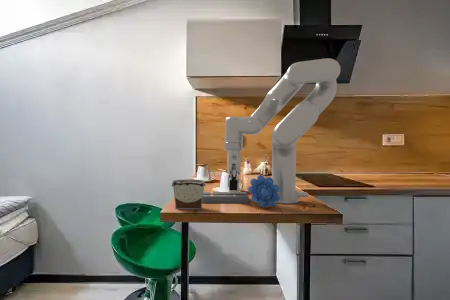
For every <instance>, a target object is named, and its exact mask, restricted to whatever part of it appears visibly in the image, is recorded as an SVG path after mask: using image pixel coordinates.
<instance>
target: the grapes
mask: <svg viewBox="0 0 450 300" xmlns="http://www.w3.org/2000/svg"><path fill="white" fill-rule="evenodd" d="M273 183H274V181H273V179H272V177H270V176H269V177H266V178H265V176H264V175H262V174H259V175H257V177H256V178H251V179H250V186H249V187H248V190H247V191H248V193H249V194H250V195H251V200H252V202H253V203H256V204H259V206H260V207H261V208H264V209H265V208H266V207H271V208H273V207H276V203H275V201H279V200H280V195H279V194H278V193H277V192H279V186H278V185H276V184H273Z"/></svg>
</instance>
